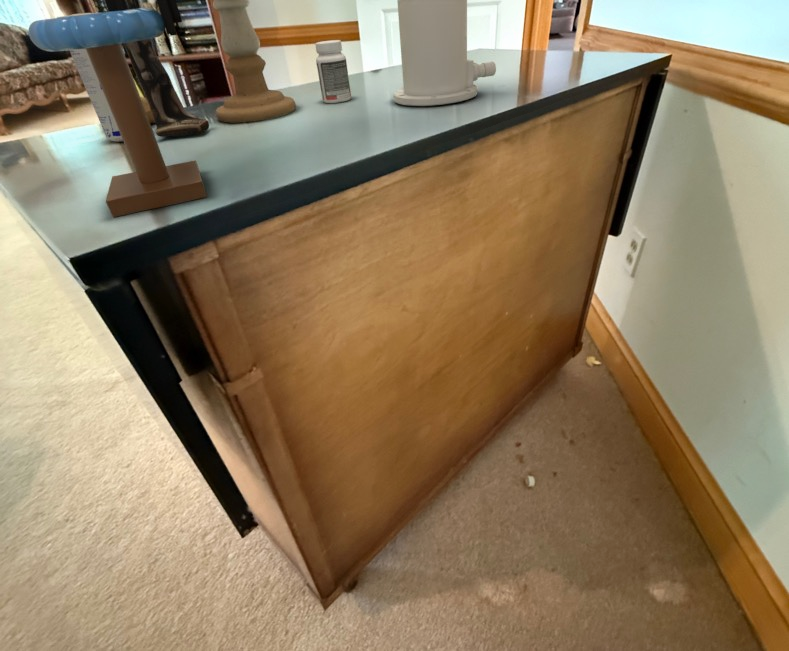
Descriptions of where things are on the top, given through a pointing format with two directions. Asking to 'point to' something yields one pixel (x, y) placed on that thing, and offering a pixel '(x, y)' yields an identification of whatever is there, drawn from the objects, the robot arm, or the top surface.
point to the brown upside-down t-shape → (139, 144)
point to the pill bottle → (332, 72)
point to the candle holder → (246, 69)
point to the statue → (161, 91)
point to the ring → (96, 29)
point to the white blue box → (95, 92)
